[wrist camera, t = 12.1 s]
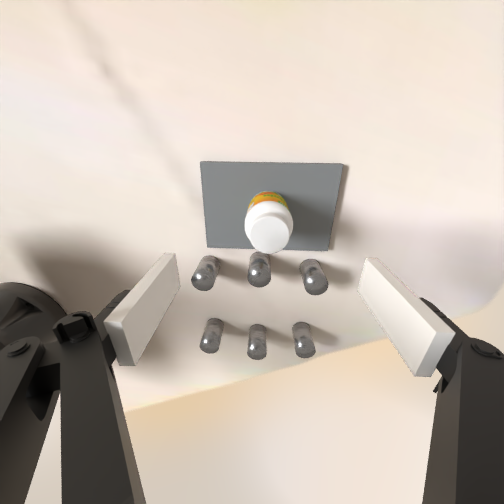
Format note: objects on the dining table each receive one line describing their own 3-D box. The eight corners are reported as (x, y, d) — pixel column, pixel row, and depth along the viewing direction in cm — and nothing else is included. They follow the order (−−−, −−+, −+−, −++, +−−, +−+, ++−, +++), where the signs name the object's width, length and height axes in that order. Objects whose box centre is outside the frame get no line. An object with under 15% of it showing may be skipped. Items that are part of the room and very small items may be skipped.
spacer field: (207, 334, 43) (201, 357, 38) (199, 249, 35) (189, 265, 30) (307, 339, 42) (313, 362, 37) (322, 253, 34) (331, 270, 29)
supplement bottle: (294, 200, 30) (307, 222, 21) (276, 234, 32) (282, 267, 23) (257, 183, 29) (255, 199, 20) (242, 219, 31) (234, 248, 22)
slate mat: (208, 244, 34) (207, 247, 33) (201, 161, 29) (199, 161, 28) (325, 248, 33) (327, 251, 33) (340, 163, 28) (343, 164, 27)
